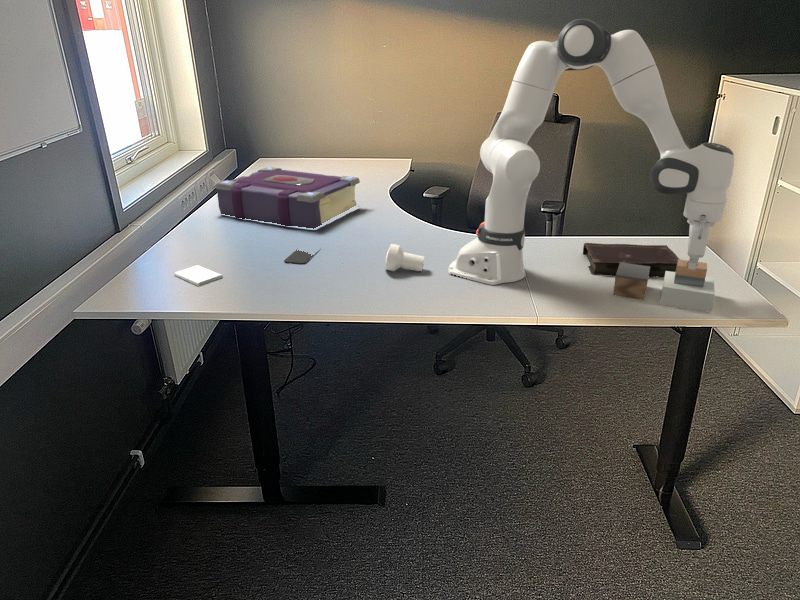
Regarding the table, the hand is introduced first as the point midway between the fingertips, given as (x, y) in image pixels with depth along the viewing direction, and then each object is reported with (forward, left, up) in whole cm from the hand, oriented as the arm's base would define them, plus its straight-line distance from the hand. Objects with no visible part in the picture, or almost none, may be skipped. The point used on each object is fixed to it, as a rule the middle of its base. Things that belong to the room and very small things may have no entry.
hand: (691, 262), depth 157 cm
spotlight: (-77, -11, -11) cm, 79 cm away
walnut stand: (-14, 0, -11) cm, 17 cm away
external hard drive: (-130, -39, -11) cm, 137 cm away
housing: (0, 0, -6) cm, 6 cm away
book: (-142, +27, -11) cm, 145 cm away
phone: (-112, -12, -11) cm, 113 cm away
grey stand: (0, 0, -11) cm, 11 cm away
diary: (-16, +20, -11) cm, 28 cm away
